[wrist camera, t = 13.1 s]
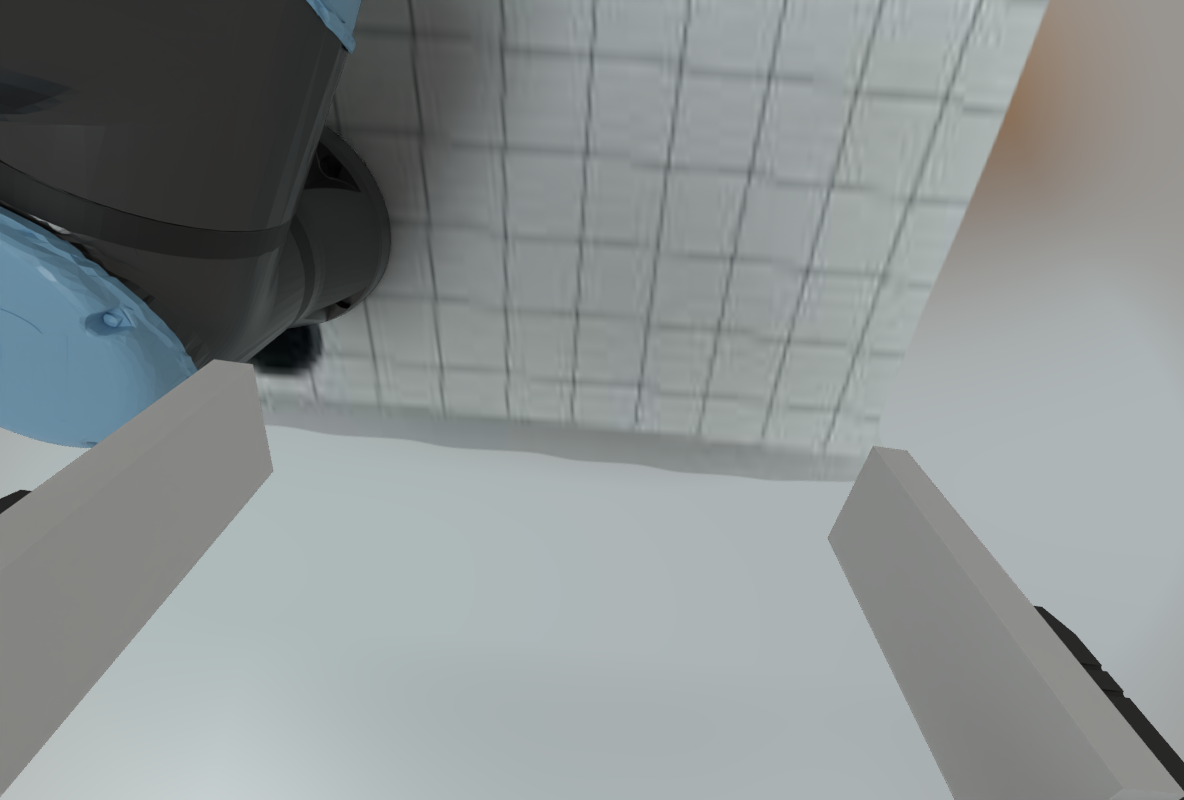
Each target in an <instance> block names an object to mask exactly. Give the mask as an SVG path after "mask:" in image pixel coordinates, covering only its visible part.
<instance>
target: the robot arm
mask: <svg viewBox="0 0 1184 800" xmlns="http://www.w3.org/2000/svg"><path fill="white" fill-rule="evenodd" d="M361 1H362V0H0V427H1V428H4V429H6V430H9V431H12V432H14V433H17V434H20V435H23V436H26V437H29V438H33V439H36V440H39V441H44V442H47V443H52V444H57V445H62V446H70V447H80V448H91V449H90V450H88V451H87V452H85V453H84V454H83V455H81V456H80V457H79V458H77V459H76V460H74V461H73V462H72V463H70V464H69V465H68V466H66V467H65V468H63V469H62V470H61V471H59V472H58V473H56V474H55V475H54V476H52V477H51V478H50V479H48V480H47V481H45V482H44V483H43V484H41V485H40V486H39V487H37V488H36V489H34V490H33V491H26V490H19V491H17V492H15V493H12V494H10V495H8V496H6V497H3V498H1V499H0V797H1V795H2V794H3V793H4V792H5V791H6V789H7V788H8V787H9V786H10V785H11V784H12V782H13V781H14V780H15V779H16V778H17V776H18V775H19V774H20V773H21V772H22V770H23V769H24V768H25V767H26V766H27V764H28V763H29V762H30V761H31V760H32V758H33V757H34V756H35V755H36V754H37V753H38V751H39V750H40V749H41V748H42V747H43V745H44V744H45V743H46V742H47V741H48V739H49V738H50V737H51V736H52V735H53V733H54V732H55V731H56V730H57V729H58V727H59V726H60V725H61V724H62V723H63V721H64V720H65V719H66V718H67V717H68V715H69V714H70V713H71V712H72V711H73V710H74V708H75V707H76V706H77V705H78V703H79V702H80V701H81V700H82V699H83V698H84V696H85V695H86V694H87V693H88V691H89V690H90V689H91V688H92V687H93V686H94V684H95V683H96V682H97V681H98V680H99V679H100V677H101V676H102V675H103V674H104V672H105V671H106V670H107V669H108V668H109V667H110V665H111V664H112V663H113V661H115V659H116V658H117V657H118V656H119V655H120V653H121V652H122V651H123V650H124V649H125V647H126V646H127V645H128V644H129V643H130V642H131V640H132V639H133V638H134V637H135V636H136V634H137V633H138V632H139V631H140V630H141V628H142V627H143V626H144V625H145V624H146V622H147V621H148V620H149V619H150V618H151V616H152V615H153V614H154V613H155V612H156V610H157V609H158V608H159V607H160V606H161V605H162V603H163V602H164V601H165V600H166V598H167V597H168V596H169V595H170V594H171V593H172V591H173V590H174V589H175V588H176V587H177V585H178V584H179V583H180V582H181V581H182V579H183V578H184V577H185V576H186V575H187V573H188V572H189V571H190V570H191V569H192V567H193V566H194V565H195V564H196V563H197V561H198V560H199V559H200V558H201V557H202V556H203V554H204V553H205V552H206V551H207V550H208V548H209V547H210V546H211V545H212V544H213V542H214V541H215V540H216V539H217V538H218V537H219V535H220V534H221V533H222V532H223V530H224V529H225V528H226V527H227V526H228V524H229V523H230V522H231V521H232V520H233V519H234V517H235V516H236V515H237V514H238V513H239V511H240V510H241V509H242V508H243V507H244V505H245V504H246V503H247V502H248V501H249V499H250V498H251V497H252V496H253V495H254V493H255V492H256V491H257V490H258V489H259V487H260V486H261V485H262V484H263V483H264V482H265V480H266V479H267V478H268V477H269V476H270V474H271V473H272V472H273V467H272V462H271V457H270V451H269V446H268V441H267V436H266V430H265V425H264V420H263V415H262V410H261V404H260V399H259V394H258V389H257V384H256V378H255V373H254V368H253V364H246V362H247V361H248V360H249V359H251V358H252V357H253V356H254V355H255V354H257V353H258V352H259V351H260V350H262V349H263V348H264V347H265V346H266V345H268V344H269V343H270V342H271V341H273V340H274V339H275V338H276V337H277V336H279V335H280V334H281V333H282V332H284V331H285V330H286V329H287V328H293V327H299V326H306V325H312V324H317V323H322V322H326V321H329V320H332V319H335V318H337V317H339V316H341V315H343V314H345V313H347V312H348V311H350V310H351V309H353V308H354V307H355V306H356V305H358V304H359V303H360V302H361V301H362V300H363V299H364V298H365V297H366V296H367V295H368V294H369V293H370V292H371V291H372V290H373V289H374V288H375V287H376V285H377V284H378V282H379V281H380V279H381V277H382V275H383V273H384V270H385V268H386V265H387V261H388V257H389V252H390V225H389V218H388V214H387V210H386V206H385V203H384V200H383V198H382V195H381V193H380V190H379V188H378V186H377V184H376V182H375V180H374V178H373V177H372V175H371V173H370V172H369V170H368V169H367V167H366V166H365V164H364V163H363V162H362V160H361V159H360V158H359V156H358V155H357V154H356V153H355V152H354V151H353V150H352V148H351V147H350V146H349V145H348V144H347V143H346V142H345V141H343V140H342V139H341V138H340V137H339V136H338V135H337V134H335V133H334V132H333V131H332V130H330V129H329V128H327V127H326V126H324V124H325V121H326V118H327V115H328V112H329V109H330V106H331V103H332V99H333V96H334V93H335V90H336V87H337V84H338V81H339V78H340V75H341V72H342V69H343V66H344V63H345V60H346V57H347V54H348V53H350V54H352V53H353V51H354V48H355V40H354V37H353V31H354V27H355V23H356V20H357V16H358V12H359V8H360V4H361ZM828 540H829V542H830V544H831V546H832V548H833V551H834V552H835V555H836V557H837V559H838V561H839V563H840V565H841V567H842V569H843V571H844V573H845V575H846V577H847V579H848V581H849V583H850V586H851V587H852V589H853V592H854V594H855V596H856V598H857V600H858V602H859V604H860V606H861V608H862V610H863V612H864V614H865V616H866V618H867V620H868V623H869V625H870V627H871V628H872V631H873V633H874V635H875V637H876V639H877V641H878V643H879V645H880V647H881V649H882V651H883V653H884V655H885V658H886V660H887V662H888V664H889V665H890V667H891V670H892V672H893V674H894V676H895V678H896V680H897V682H898V684H899V686H900V688H901V690H902V692H903V695H904V697H905V699H906V701H907V703H908V705H909V707H910V709H911V711H912V713H913V715H914V717H915V719H916V721H917V723H918V725H919V727H920V730H921V732H922V734H923V736H924V738H925V740H926V742H927V744H928V746H929V748H930V750H931V752H932V754H933V756H934V758H935V760H936V762H937V765H938V766H939V769H940V771H941V773H942V775H943V777H944V779H945V781H946V783H947V785H948V787H949V789H950V791H951V793H952V795H953V797H954V800H1184V762H1183V761H1182V760H1181V758H1180V757H1179V756H1178V755H1177V754H1176V753H1175V751H1174V750H1173V749H1172V748H1171V747H1170V746H1169V744H1168V743H1167V742H1166V741H1165V740H1164V739H1163V737H1162V736H1161V735H1160V734H1159V732H1158V731H1157V730H1156V729H1155V728H1154V727H1153V725H1152V724H1151V723H1150V722H1149V721H1148V720H1147V718H1146V717H1145V716H1144V715H1143V714H1142V712H1141V711H1140V710H1139V709H1138V708H1137V706H1136V705H1135V704H1134V703H1133V702H1132V701H1131V699H1130V698H1125V697H1124V695H1123V690H1122V689H1121V688H1120V686H1119V685H1118V684H1117V683H1116V682H1115V681H1114V680H1113V678H1112V677H1111V676H1110V675H1109V674H1108V672H1106V671H1102V669H1101V666H1102V665H1101V664H1100V663H1099V662H1098V660H1096V658H1095V657H1094V656H1093V655H1092V654H1091V652H1090V651H1089V650H1088V649H1087V648H1086V646H1085V645H1084V644H1083V643H1082V642H1081V641H1080V639H1079V638H1078V637H1077V636H1076V634H1074V633H1073V632H1072V631H1071V630H1069V629H1068V628H1067V627H1066V626H1065V625H1063V624H1062V623H1061V622H1060V621H1058V620H1057V619H1056V618H1055V617H1054V616H1052V615H1051V614H1050V613H1049V612H1048V611H1046V610H1045V609H1044V608H1043V607H1038V606H1033V605H1032V604H1031V603H1030V601H1029V600H1028V599H1027V598H1026V597H1025V596H1024V594H1023V593H1022V592H1021V590H1020V589H1019V588H1018V587H1017V585H1016V584H1015V583H1014V582H1013V581H1012V579H1011V578H1010V577H1009V576H1008V574H1007V573H1006V572H1005V571H1004V569H1003V568H1002V567H1001V566H1000V565H999V563H998V562H997V561H996V560H995V559H994V557H993V556H992V555H991V553H990V552H989V551H988V550H987V548H986V547H985V546H984V545H983V544H982V543H981V541H980V540H979V539H978V537H977V536H976V535H975V534H974V533H973V531H972V530H971V529H970V528H969V526H968V525H967V524H966V523H965V521H964V520H963V519H962V518H961V517H960V515H959V514H958V513H957V512H956V510H955V509H954V508H953V507H952V506H951V504H950V503H949V502H948V501H947V499H946V498H945V497H944V496H943V494H942V493H941V492H940V491H939V489H938V488H937V487H936V486H935V485H934V483H933V482H932V481H931V480H930V479H929V477H928V476H927V475H926V473H925V472H924V471H923V470H922V469H921V467H920V466H919V465H918V464H917V462H916V461H915V460H914V459H913V457H912V456H911V455H910V454H909V453H908V451H906V450H898V449H890V448H883V447H876V446H873V447H872V449H871V451H870V454H869V456H868V458H867V460H866V462H865V464H864V466H863V468H862V470H861V472H860V474H859V476H858V478H857V480H856V482H855V484H854V486H853V488H852V490H851V492H850V494H849V496H848V498H847V500H846V502H845V504H844V506H843V508H842V510H841V512H840V514H839V516H838V518H837V520H836V522H835V524H834V526H833V528H832V530H831V532H830V534H829V536H828Z"/></svg>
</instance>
